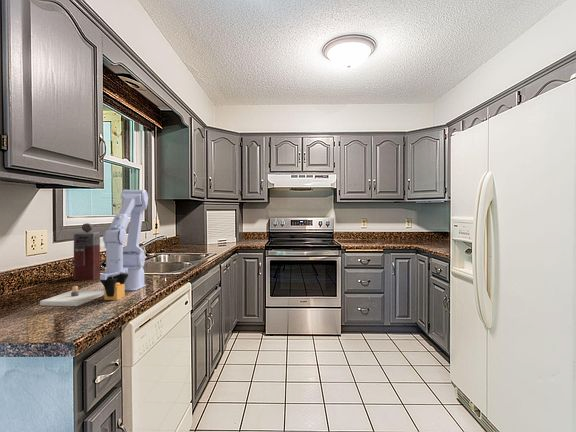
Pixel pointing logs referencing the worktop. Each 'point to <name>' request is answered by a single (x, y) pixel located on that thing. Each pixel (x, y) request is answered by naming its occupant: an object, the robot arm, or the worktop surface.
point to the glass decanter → (86, 254)
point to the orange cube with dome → (117, 292)
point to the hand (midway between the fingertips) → (114, 294)
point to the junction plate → (73, 297)
